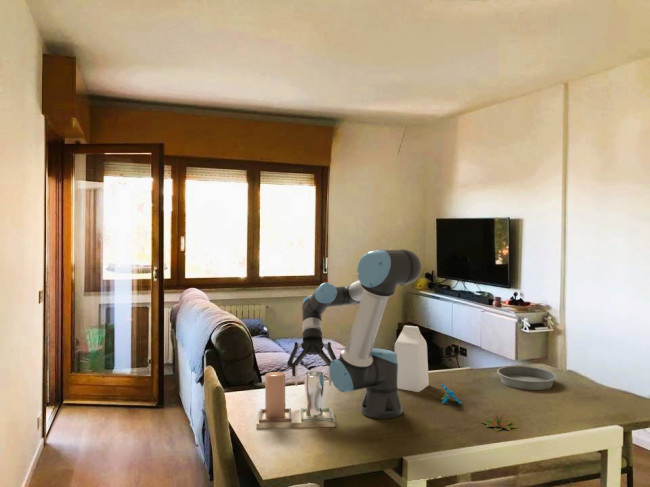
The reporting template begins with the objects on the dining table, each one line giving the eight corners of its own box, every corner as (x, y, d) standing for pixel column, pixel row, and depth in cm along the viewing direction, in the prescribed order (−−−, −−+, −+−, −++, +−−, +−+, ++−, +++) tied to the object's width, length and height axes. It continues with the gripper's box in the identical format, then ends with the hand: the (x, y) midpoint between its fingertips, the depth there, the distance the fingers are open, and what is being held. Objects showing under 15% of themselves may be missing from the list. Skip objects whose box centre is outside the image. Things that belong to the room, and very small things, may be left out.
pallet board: (332, 413, 199) (332, 406, 199) (335, 426, 186) (335, 419, 186) (258, 415, 198) (258, 408, 197) (256, 428, 185) (256, 420, 184)
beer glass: (317, 419, 188) (317, 377, 188) (300, 416, 192) (300, 374, 191) (328, 414, 194) (327, 372, 194) (311, 410, 198) (311, 369, 197)
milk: (392, 387, 232) (392, 327, 231) (403, 381, 241) (403, 323, 240) (418, 392, 225) (419, 329, 224) (428, 385, 235) (429, 325, 234)
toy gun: (465, 404, 205) (446, 384, 206) (454, 415, 205) (435, 395, 206) (459, 398, 216) (441, 380, 217) (449, 409, 216) (431, 391, 217)
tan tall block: (288, 415, 193) (288, 373, 193) (278, 421, 187) (278, 378, 186) (272, 412, 196) (272, 371, 196) (261, 418, 190) (261, 375, 189)
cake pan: (494, 387, 232) (494, 377, 232) (499, 373, 255) (499, 363, 255) (557, 394, 223) (557, 383, 223) (556, 378, 246) (556, 369, 245)
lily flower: (473, 423, 191) (473, 410, 191) (501, 418, 195) (501, 406, 195) (496, 435, 180) (496, 421, 180) (524, 430, 184) (525, 417, 184)
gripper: (342, 337, 212) (345, 388, 197) (281, 337, 210) (279, 389, 196) (343, 327, 206) (347, 378, 192) (281, 326, 205) (279, 378, 190)
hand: (313, 384), depth 194 cm, fingers open, 11 cm apart
